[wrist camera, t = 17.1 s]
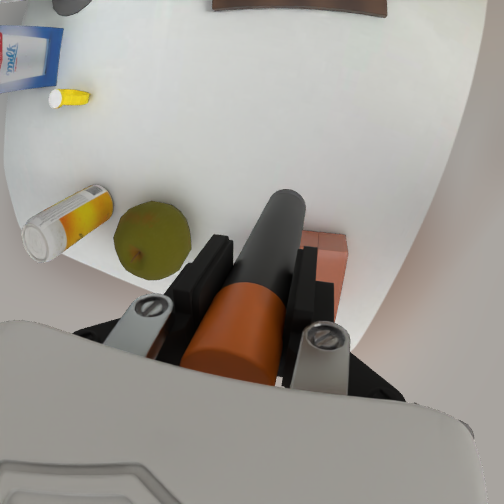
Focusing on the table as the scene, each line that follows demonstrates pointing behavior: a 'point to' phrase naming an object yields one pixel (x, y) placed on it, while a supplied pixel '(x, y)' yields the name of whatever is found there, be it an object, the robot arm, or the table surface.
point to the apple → (152, 240)
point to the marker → (252, 300)
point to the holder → (328, 259)
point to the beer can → (66, 223)
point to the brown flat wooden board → (308, 5)
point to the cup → (63, 5)
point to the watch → (67, 97)
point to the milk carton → (28, 57)
